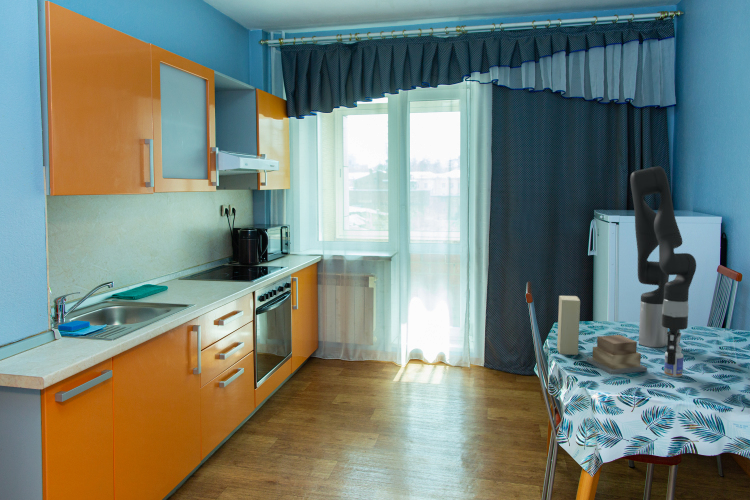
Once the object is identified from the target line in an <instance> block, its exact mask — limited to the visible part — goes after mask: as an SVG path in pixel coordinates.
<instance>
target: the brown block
mask: <svg viewBox="0 0 750 500" xmlns="http://www.w3.org/2000/svg"><path fill="white" fill-rule="evenodd" d="M596 339H597V341H596V346H592V357H591V358H592V359H593V360H595V361H597V362H599V363H601V364H603V365H605V366H607V367H609V368H611V369H619V368H629V367H640V364H641V361H642V359H641V358H642V357H641V356H642V354H641V353H640V352H639V351H637V347H638V342H637V341H635V340H634V339H631V338H629V337H626V336H624V335H621V334H616V335H615V334H614V335H602V336H601V335H600V336H597V338H596Z"/></svg>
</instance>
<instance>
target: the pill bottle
mask: <svg viewBox="0 0 750 500" xmlns="http://www.w3.org/2000/svg"><path fill="white" fill-rule="evenodd" d="M670 349H674V347H670ZM676 351H677V352H676V356H675V365H670V364H668V363H667V358H668V353H667V351H666V352H664V366H663V367H664V368H663V372H664V374H665V375H666V376H668V377H672V378H673V377H674V378H680V377H682V376H683V373H684V370H683V369H684V354H683V353H682V346H681V345H679V346H678V348H676Z"/></svg>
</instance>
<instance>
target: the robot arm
mask: <svg viewBox="0 0 750 500" xmlns="http://www.w3.org/2000/svg"><path fill="white" fill-rule="evenodd" d="M629 178H630V189H631V193H632V201H633V202H632V203H633V208H634V230H635V238H636V241H635V242H636V247H637V249H636V250H637V279H638V282H639V283H640V284H643V285H650V286H658V287H657V289H655V290H652V291H651V290H650V291H647V292H643V293H641V295H640V305H639V306H640V307H639V325H638V326H639V328H638V331H639V332H638V344H639V345H641V346H644V347H647V348H648V347H649V348H663V347H665V346H666V352H667V353H668V358H667V363H668V364H670V365H675V356H676V352H677V351H676V348H678V346H680V344H681V338H682V332H681V331H680V330H683V331H684V330H686V329H687V328H688V327H689V326H688V323H689V322H688V321H689V320H688V319H689V309H690V308H689V290H690V287H691V284H692V282H693V278H694V276H695V274H696V271H697V261H696V258H695V257H694V256H693V255H692V254H691V253H687V252H684V253H683V252H681V253H679V252H678V253H677V252H676V253H675V249H677V248H679V247H681V246H682V245H683V238H682V234H681V232H680V229H679V225H678V222H677V219H676V216H675V210H674V206H673V205H674V204H673V200H672V195H671V190H670V184H669V181H668V177H667V173H666V170H665V169H664V168H663V167H662V166H659V165H658V166H652V167H649V168H644V169H643V168H642V169H639V170H636V171H633V172H632V173H631V174H630V177H629ZM654 194H655V195H656V194H659V198H660V201H659V202H660V203H659V206H658V209H657V212H655V210H653V209H652V208H651V207H650V206H649V205H648V204H647V202H646V201H645V198H644V197H646V196H649V195H654ZM657 247H658V254H659V255H658V256H659V258H658V261H653V260H652V261H650V260H648V259H649V258H650V255H651V254H652V253H653V252H654V251H655V250H656V249H657ZM670 276H675V278H674V279H673V280H670ZM669 280H670V281H669ZM668 329H669V330H668ZM670 347H674V349H670Z"/></svg>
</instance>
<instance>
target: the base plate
mask: <svg viewBox="0 0 750 500" xmlns="http://www.w3.org/2000/svg"><path fill="white" fill-rule="evenodd" d="M585 361H586V362H587V363H589V364H590V365H592V366H594V367H596V368H598V369H600V370H601V371H604V372H605V373H608V374H609V375H619V374H628V373H639V372H648V367H647V366H644V365H643V364H641V363H640V367H629V368H619V369H611V368H609V367H607V366H605V365H603V364H601V363H599V362H597V361H595V360H593V359H592V357H586V358H585Z"/></svg>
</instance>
